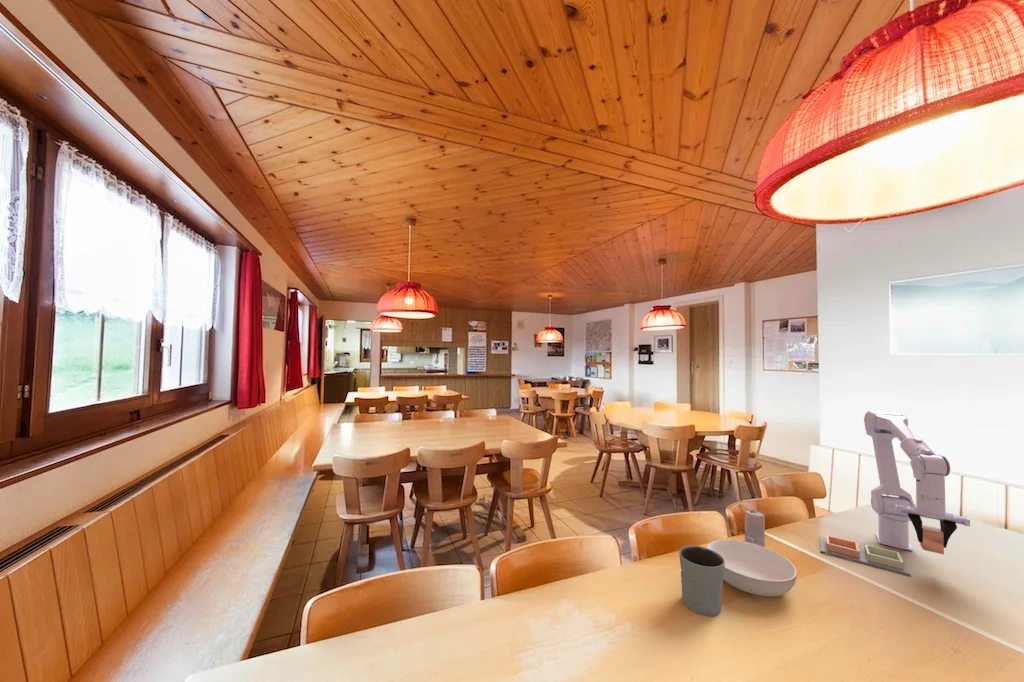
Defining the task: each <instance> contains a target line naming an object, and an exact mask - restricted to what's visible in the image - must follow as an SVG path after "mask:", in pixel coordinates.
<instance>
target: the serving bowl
mask: <svg viewBox="0 0 1024 682" xmlns="http://www.w3.org/2000/svg"><path fill="white" fill-rule="evenodd" d="M706 548H708V549H710V550H713V551H715V552H717V553H718V554H720V555H721V556H722V557H723V558H724V560H725V565H724V573H723V582H724V581H725V582H726V583H727V584H729V585H731V586H732V587H734V588H736V589H739V590H740V591H743V592H745V593H750V594H752V595H756V596H763V597H777V596H781V595H785V594H786V593H788V592H790V591H791V590H792V589H793V587H795V584H796V581H797V576H798V570H797V568H796V566H795V565H794V564H793V563H792V562H791V561H790V560H789V559H788V558H786V557H785V556H783V555H782V554H780V553H778V552H776V551H774V550H772V549H770V548H767V547H766V546H765V547H762V546H759V545H756V544H753V543H749V542H745V540H744V541H743V540H736V539H717V540H714V541H710V543H708V544H707V545H706Z"/></svg>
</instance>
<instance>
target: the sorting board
mask: <svg viewBox="0 0 1024 682" xmlns="http://www.w3.org/2000/svg"><path fill="white" fill-rule="evenodd" d="M825 537H826V538H824V537H819V544H820V545H819V547H820V553H821V552H823V553H822V554H824V553H827V554H826V555H828V554H830V555H829V556H832V555H834V556H833V557H836V556H838V557H837V558H840V557H841V559H843V558H845V559H844V560H847V559H849V560H848V561H851V560H852V562H856V563H859V564H863V565H867V566H871V567H874V568H878V569H880V570H881V569H882V570H886V571H890V572H892V573H897V574H900V575H901V574H902V575H904V576H908V577H911V575H912V574H911V572H910V570H909V567H908V565H907V563H906V561H905V559H904V557H903V556H901V554H900V552H899V551H895V550H891V549H886V548H884V547H883V548H882V547H878V546H875V545H870V544H864V547H863V546H859V544H858V542H857V541H853V540H849V539H845V538H840V537H838V536H837V537H836V536H832V535H828V534H826V535H825Z"/></svg>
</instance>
